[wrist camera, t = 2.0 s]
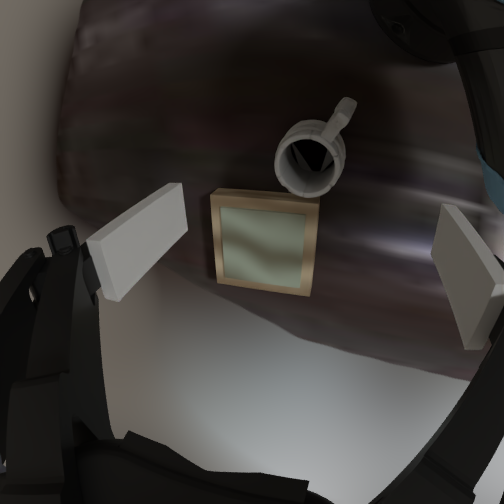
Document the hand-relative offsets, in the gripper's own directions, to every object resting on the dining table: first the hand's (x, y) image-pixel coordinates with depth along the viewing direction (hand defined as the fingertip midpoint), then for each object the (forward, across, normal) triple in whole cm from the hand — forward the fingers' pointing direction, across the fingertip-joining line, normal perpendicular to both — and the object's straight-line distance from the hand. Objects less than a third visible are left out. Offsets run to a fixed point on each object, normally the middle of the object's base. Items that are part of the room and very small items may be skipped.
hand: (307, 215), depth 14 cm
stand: (+25, -8, -14) cm, 30 cm away
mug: (+25, -1, 0) cm, 25 cm away
